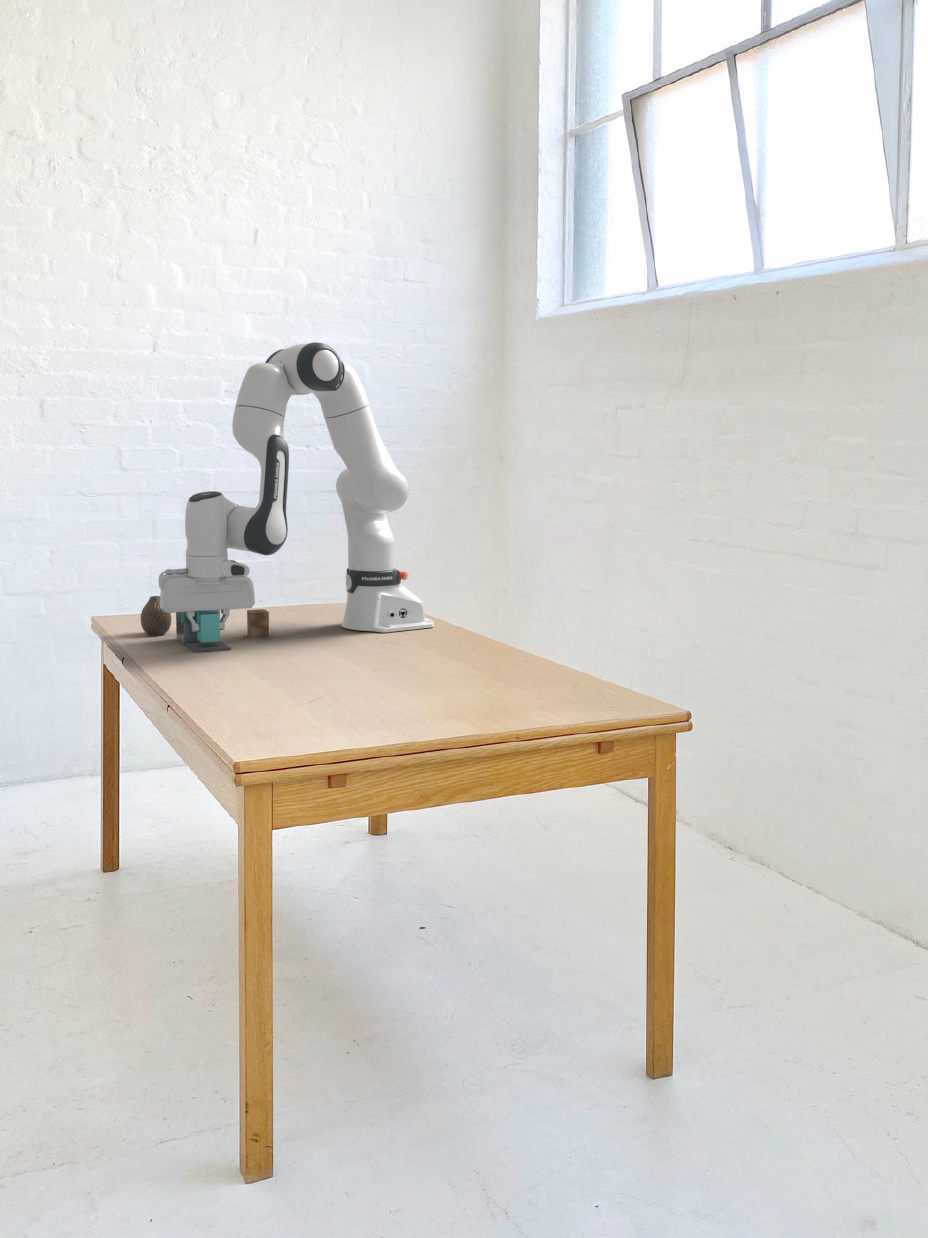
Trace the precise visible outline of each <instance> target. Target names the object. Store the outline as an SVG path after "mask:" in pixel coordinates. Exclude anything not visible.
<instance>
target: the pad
mask: <svg viewBox="0 0 928 1238" xmlns="http://www.w3.org/2000/svg"><path fill="white" fill-rule="evenodd" d="M186 647H187V648H188V649H189V650H190V651H191V652H192V653H205V652H219V651H231V650H232V649H231V648H232V647H231V646H230V645H228V644H227V643H226V642H224V641H223V640H222V641H220V642H207V643H192V644H186Z"/></svg>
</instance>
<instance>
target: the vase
mask: <svg viewBox="0 0 928 1238" xmlns="http://www.w3.org/2000/svg"><path fill="white" fill-rule="evenodd" d="M140 625H141V629H143V631H144V632H145V633H146V634H147V635H148V636H154V637H155V636H156V637H157V636H164V635H166V633H168V632H169V630H170V628H171V625H172V613H166V612H164V611H163V610H162V609H161V608H160V595H152V596H150V597H149V599H148V601H147V602H146V603H145V605H144V606H143V607H142V610H141V612H140Z"/></svg>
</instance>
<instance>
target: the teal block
mask: <svg viewBox="0 0 928 1238" xmlns="http://www.w3.org/2000/svg"><path fill="white" fill-rule="evenodd" d="M197 623H199V624H200V632H197V639H198V640H199V641H200V642H215V641H220V642H221V630H220V620H219V613H217V612H215V611H208V612H197Z"/></svg>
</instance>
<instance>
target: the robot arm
mask: <svg viewBox="0 0 928 1238" xmlns="http://www.w3.org/2000/svg"><path fill="white" fill-rule="evenodd" d="M311 393H312V394H313V395H314V396H315V397H316V399H317V400H318V401H319V404H320V408H321V412H322V415H323V418H324V420H325V423H326V428H327V431H328V433H329V437H330V439H331V443H332V446H333V449H334V450H335V452H336V453H337V454H338V455H339V456H340V458H341V460H342V461H343V463H344V465H345V467H346V468H345V469H343V470H342V471H341V472H340V474H338V477H337V478H336V482H335V491H336V494H337V495H338V496H337V497H338V498H339V500H340V502H341V505H342V510H343V517H344V522H345V526H346V533H347V562H348V563H347V564H348V568H346V575H345V588H346V593H347V595H346V604H345V609H344V614H343V617H342V618H343V619H342V621H341V625H340V626H341V627H342V628H344V629H348V630H354V631H363V632H365V631H366V632H375V633H393V632H400V631H401V632H402V631H409V630H419V629H427V628H428V629H429V628H434V627H435V623H434V621H433V620H432V619H430V618H427V617H426V614H425V607H424V604H423V602H422V600H421V598H419V597H418V596H417V595H416V594H414V593H413V592H412V591H410V590H409V589H408V588H407V587H406V586H404V585H403V584H402V583H401V582H402V580H403V581H406V580H408V578H409V573H408V572H407V571H404V570H398V569H396V568H395V536H394V533H393V531H392V530H391V527H390V524H389V519H388V515H387V513H392V512H394V511H398V510H399V509H401V508H402V507H403V506H404V505H405V503H406V502H407V500H408V497H409V494H410V493H409V491H410V490H409V488H410V487H409V484H408V481H407V479H406V478H405V476H404V475H403V474H402V473H401V472H400V471H399V469H398V468H397V466H396V464H395V463H394V461H393V459H392V457H391V454H390V453H389V451H388V449H387V448H386V446H385V444H384V441H383V440H382V438H381V435H380V433H379V430H378V426H377V425H376V421H375V418H374V414H373V412H372V408H371V406H370V403H369V398H368V396H367V394H366V390H365V388H364V385H363V383H362V382H361V380H360V378H359V375H358V374H357V372H356V370H355V368H353V367H352V365H350V364H348V363H344V362H343V361H342V359H341V357H340V355H339V354H338V352H336V350H335V349H334V348H333V347H332V346H330V345H328V344H326V343H322V342H316V341H315V342H308V343H300V344H299V343H298V344H294V345H291V346H290V347H287V348H282V349H279V350H276V351H274V352H273V353H272V354H270V355H269V356H268V358H267V359H266V360H265V362H259V363H255V364H252V365H251V366H250V367H249V368H247V371H246V372H245V375H244V377H243V380H242V382H241V385H240V388H239V390H238V395H237V399H236V402H235V408H234V412H233V417H232V422H231V423H232V425H231V427H232V428H231V429H232V434H233V437H234V439H235V441H236V442H237V443H238V444H239V446H240V447H242V449H243V450H245V451H246V452H248V453H249V454H251V455H253V457H255V458H256V459H257V461H258V463H259V465H260V482H259V483H260V484H259V500H258V503H257V505H256V506H255V507H253V506H252V507H249V506H245V505H244V506H243V505H239V504H237V503H235V502H233V501H231V500H229V499H228V498H226V497H225V496H224V494H223V493H222V492H220V491H216V490H215V491H202V492H198V493H195V494H192V496H190V497H189V498H188V500H187V503H186V508H185V515H184V516H185V518H184V530H185V533H184V534H185V537H186V543H187V547H186V550H185V567H184V568H177V569H176V568H175V569H172V568H168V569H165V571H162V572H161V573H160V574H159V576H158V587H159V589H160V594H159V596H160V608H161V609H162V610H163V611H164V612H166V613H171V614H172V613H173V614H174V613H175V614H176V612H186V616H187V617H188V619H189V621H190V622H191V623H192V631H193V632H200V624H199V623H196V622H195V621H194V619H193V618H192V616H195V611H210V610H220V613H221V615H222V616H220V631H225V630H226V629H225V627H226V626H225V624H226V622H227V620H228V619H229V616H230V610H241V609H243V610H244V609H246V610H247V609H252V608H253V607H254V606H255V604H256V596H255V588H254V582H253V580H252V579H251V578H250V577H249V575H250V567H249V566H247V564H244V563H241V562H237V561H236V560H234V559H229V558H228V557H229V556H228V549H230V550H231V549H232V550H238V551H244V552H252V553H254V554H259V555H261V556H262V555H263V556H271V555H273V554H276V553H277V552H278V551H279V550H280V549H281V548H282V547H283V546H284V544H285V542H286V540H287V537H288V533H289V532H288V518H287V499H288V498H287V497H288V486H289V485H288V484H289V483H288V482H289V470H290V469H289V467H290V465H289V464H290V450H289V446H288V445H289V444H288V443H287V441H286V439H285V435H284V434H285V433H284V427H285V426H284V425H285V420H286V419H285V418H286V412H287V405H288V403H289V400H290V398H291V397H292V396H303V395H309V394H311Z"/></svg>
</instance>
